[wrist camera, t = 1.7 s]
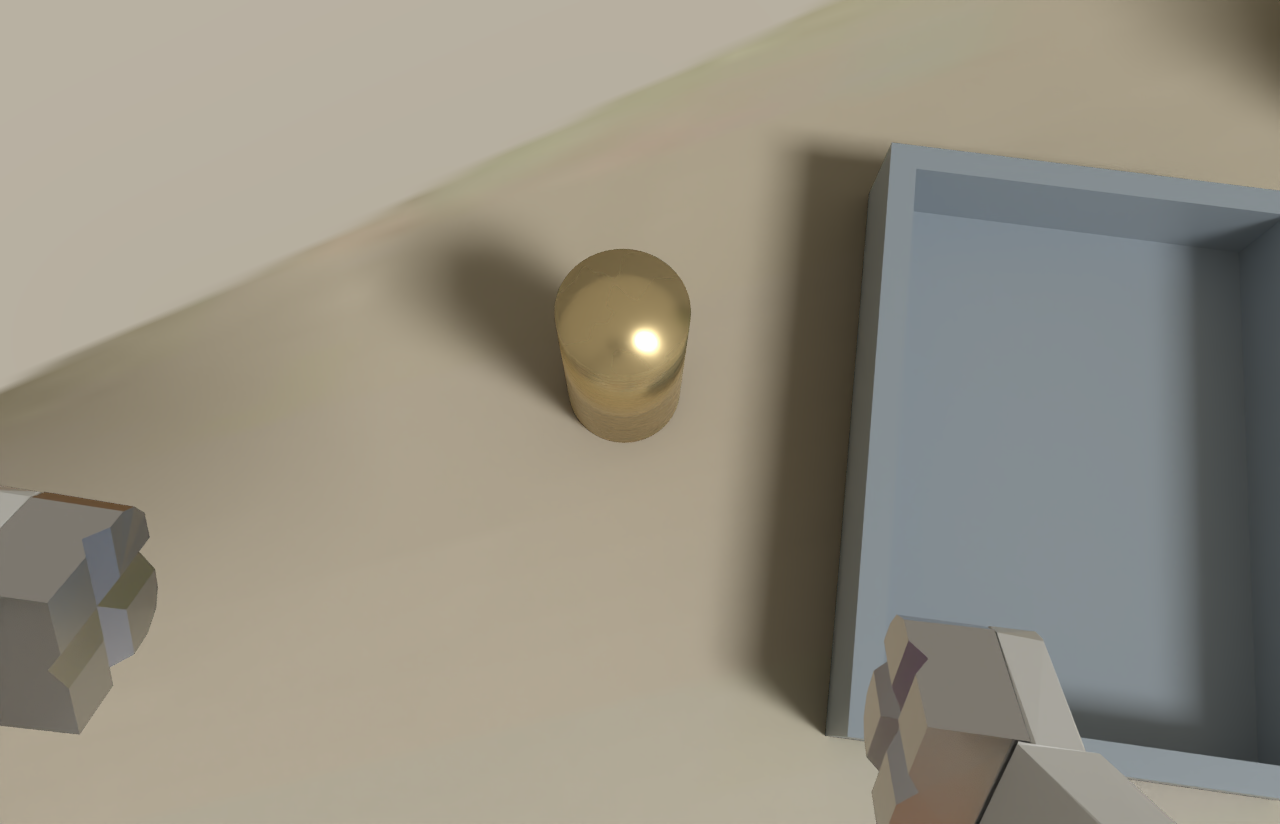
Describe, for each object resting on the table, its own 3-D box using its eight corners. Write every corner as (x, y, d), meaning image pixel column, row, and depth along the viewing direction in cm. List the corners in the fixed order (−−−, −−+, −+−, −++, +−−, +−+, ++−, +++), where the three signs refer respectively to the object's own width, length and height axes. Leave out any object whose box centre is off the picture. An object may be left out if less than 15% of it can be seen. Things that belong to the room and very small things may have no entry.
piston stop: (672, 449, 40) (681, 384, 32) (560, 434, 40) (544, 365, 33) (685, 344, 41) (698, 257, 34) (578, 330, 41) (565, 241, 34)
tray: (1274, 800, 36) (1350, 808, 33) (825, 735, 37) (847, 736, 33) (1251, 242, 43) (1312, 194, 39) (868, 194, 43) (891, 142, 40)
